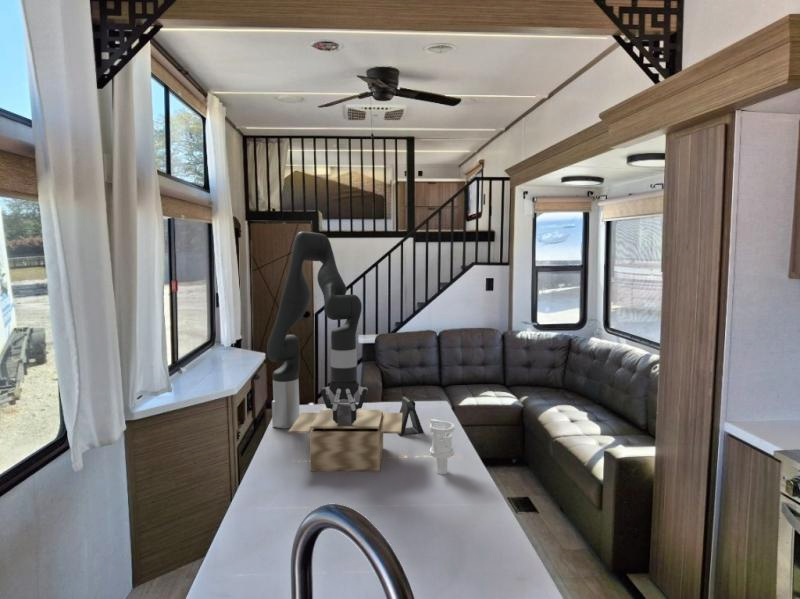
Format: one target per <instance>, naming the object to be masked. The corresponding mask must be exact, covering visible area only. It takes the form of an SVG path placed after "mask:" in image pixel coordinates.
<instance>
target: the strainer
mask: <svg viewBox="0 0 800 599" xmlns="http://www.w3.org/2000/svg"><path fill="white" fill-rule="evenodd" d="M438 426H444V427H445V428H437V427H438ZM429 431H430V432H431V433H432V441H431V442H432V444H431V447H430V448H429V455H430V456H431V457H433V458H435V459H436V473H437V474H438V473H439V474H438V475H446V474H448V459H449V458H452V457H454V456H455V449H454V448H453V447H452V444H453V443H452V442H453V440H452V439H453V438H452V436H453V435H452V433H453V432H454V431H455V424H454V423H453V422H449V421H445V420H444V421H442V420H439V419H435V418H431V419H430V423H429Z"/></svg>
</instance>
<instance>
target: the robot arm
mask: <svg viewBox="0 0 800 599" xmlns="http://www.w3.org/2000/svg"><path fill="white" fill-rule="evenodd" d="M304 261H308V262H309V261H311V262H320V263H321V264H322V265H321V267H320V268H319V269H318V273H317V279H316V280H317V283H318V286H319V288H320V291H321V292H322V296H323V301H324V307H323V310H324V311H323V312H324V314H325V316H326V317H327V318H328V319H329V320H332V321H341V320H345V323H344V324H343V325H341V326H339V327H336V328H334V329H332V330H331V333H330V344H331V345H330V347H331V348H330V350H331V351H330V352H331V353H330V361H329V364H330V384H329V386H326V387H325V386H322V388H321V389H320V394H321V397H322V400H323V401H324V402H323V403H324V405H325V408H326V410H333V421H335V423H337V405H338V404H340V403H339V402H340V400H341V401H342V400H348V404H350V406H351V409H352V410H351V423H354V421H356V418H357V410H362V407H363V405H364V402H365V398H366V396H367V393H368V390H369V389H368V387H367V386H364V387H363V386H361V385H360V384H359V383H358V355H357V354H358V353H357V338H356V337H357V330H358V325H359V321H360V317H361V314H362V308H363V307H362V305H363V304H362V301H361V299H360V297H359V296H358V295H356V294H347V286H346V284H345V281H344V280H343V278H342V276H341V274H340V272H339V269H338V267H337V263H336V259H335V254H334V252H333V247H332V244H331V242H330V240H329V238H328V236H327V235H326V234H325V233H324V234H323V233H319V232H310V231H299V232H297V234H296V235H295V238H294V241H293V246H292V251H291V257H290V262H289V270H288V273H287V277H286V281H285V285H284V288H283V291H282V295H281V297H280V298H281V299H280V302H279V308H278V312H277V315H276V318H275V322H274V325H273V327H272V330H271V332H270V335H269V338H268V340H267V345H266V355H267V358H268V359H269V361H270V362H273V363H279V362H283V364H282V365H281V366H280V367H278V368H277V369H275V370H274V371H273V372H272V396H273V400H272V401H271V416H272V422H271V423H272V428H278V429H290V428H291V427H292V426H293V424H294V423H295V421H296V420H297V418H298V417H299V416H300V388H299V385H300V384H299V382H300V381H299V375H300V374H299V373H300V370H301V369H300V367H301V366H300V365H301V364H300V362H301V360H300V359H301V347H300V346H301V344H300V340H299V338H298V337H297V336H296V335H295V334H288V333H289V332H290V331H291V329H292V328H293V327H294V326H295V325H296V324H297V323H298V322H299V321H300V320H301V319H302V318H303V316H304V315H305V314H306V312H307V308H308V305H309V302H310V299H311V291H310V288H309V285H308V283H307V280H306V278H305V276H304V272H303V264H304ZM330 391H331V393H332V394H333V396H334V400H333V403H332V401H331V398H330V395H329V394H330ZM357 391H358V392H359V395H360V398H359V401H358V403H357V402H356V398H355V395H356V393H357Z"/></svg>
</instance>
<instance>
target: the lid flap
mask: <svg viewBox="0 0 800 599" xmlns="http://www.w3.org/2000/svg"><path fill="white" fill-rule="evenodd" d="M351 410H352V409H351V406H350V403H339V404H338V405H337V423H335V421H333V410H332V409H321V410H320V412H318V413H319V414H318V416H317V417H316V418H315V420H314V421H313V423H312V424H311V426H310V428H376V429H379V425H380V421H381V417H382V413H383V414H384V412H383V411H384V410H383V409H357V418H356V421H354V423H351Z"/></svg>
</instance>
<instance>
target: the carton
mask: <svg viewBox="0 0 800 599" xmlns="http://www.w3.org/2000/svg"><path fill="white" fill-rule="evenodd" d="M319 413H320V412H300V413H299V415H300V416H299V417H298V418H297V420H296V421H295V423H294V424H293V426H292V427H291V428H289V429H288V434H309V445H310V446H309V448H310V449H309V450H310V451H309V452H310V453H309V454H310V456H309V457H310V458H309V459H310V472H359V471H367V472H369V471H371V473H372V472H377V473H379V472H380V471H381V465H382V460H383V459H382V458H383V454H384V453H383V452H384V434H397V433H401V428H402V415H403V413H399V412H383V413H382V417H381V421H380V425H379V429H376V428H310V426H311V424H312V423H313V421H314V420H315V418H316V417H317V416H318V414H319ZM381 459H382V460H381ZM367 472H366V473H367ZM369 473H370V472H369Z"/></svg>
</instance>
